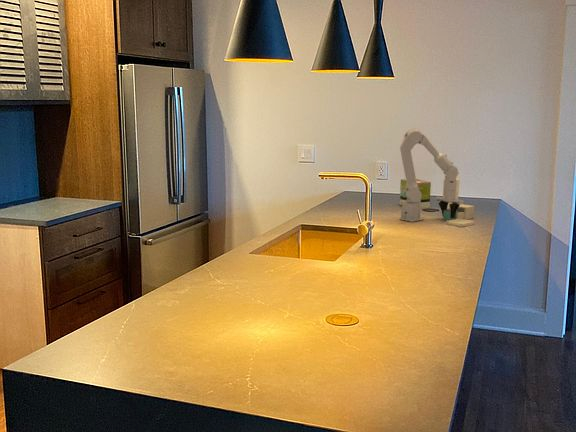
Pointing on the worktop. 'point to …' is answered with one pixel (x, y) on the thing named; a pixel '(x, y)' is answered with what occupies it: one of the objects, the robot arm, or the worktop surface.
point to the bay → (465, 212)
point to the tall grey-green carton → (448, 215)
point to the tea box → (423, 188)
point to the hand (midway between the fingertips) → (448, 217)
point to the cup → (456, 190)
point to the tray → (460, 222)
